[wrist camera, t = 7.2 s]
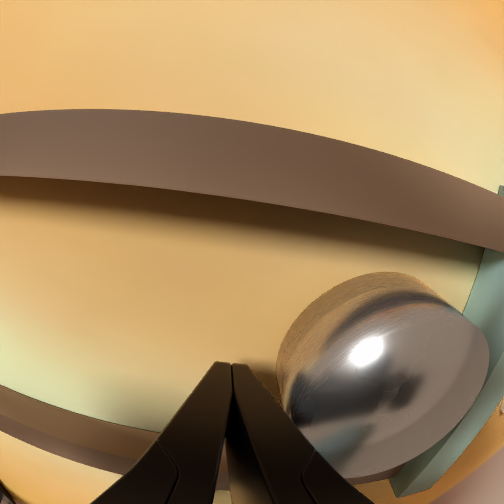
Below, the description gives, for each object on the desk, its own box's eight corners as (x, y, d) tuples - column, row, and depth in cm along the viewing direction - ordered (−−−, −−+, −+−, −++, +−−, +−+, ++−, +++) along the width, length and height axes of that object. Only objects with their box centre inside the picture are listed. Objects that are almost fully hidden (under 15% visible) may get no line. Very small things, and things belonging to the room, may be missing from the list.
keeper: (402, 409, 11) (431, 460, 8) (261, 416, 10) (269, 484, 7) (460, 278, 9) (517, 317, 6) (297, 259, 8) (328, 314, 5)
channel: (412, 454, 12) (429, 488, 9) (7, 412, 10) (-14, 446, 7) (527, 199, 8) (575, 214, 6) (-37, 109, 6) (-87, 109, 3)
